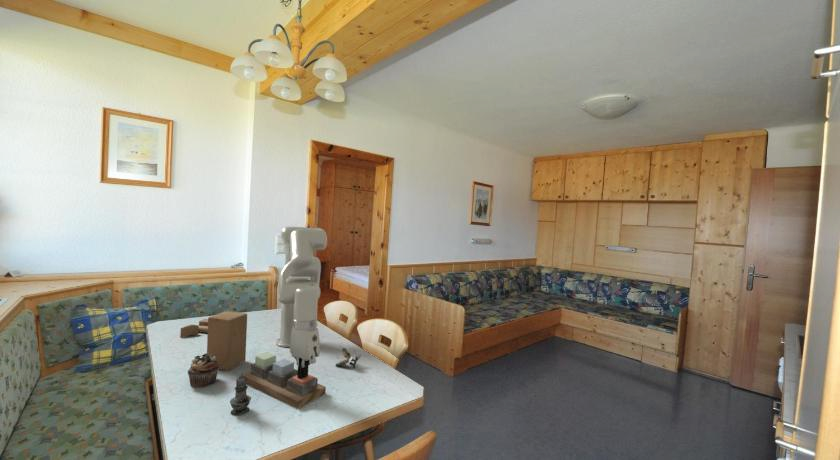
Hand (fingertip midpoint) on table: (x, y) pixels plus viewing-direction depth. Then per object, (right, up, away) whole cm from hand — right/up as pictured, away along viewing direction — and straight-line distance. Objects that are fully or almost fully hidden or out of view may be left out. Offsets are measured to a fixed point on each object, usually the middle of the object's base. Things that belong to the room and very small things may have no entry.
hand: (302, 376), depth 118 cm
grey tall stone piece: (-16, -7, -10) cm, 20 cm away
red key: (0, -4, 0) cm, 4 cm away
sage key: (-17, -1, +10) cm, 20 cm away
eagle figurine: (+9, -7, +27) cm, 29 cm away
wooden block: (-38, -4, +21) cm, 44 cm away
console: (-9, -6, +5) cm, 12 cm away
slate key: (-9, -1, +5) cm, 10 cm away
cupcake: (-38, -5, +6) cm, 38 cm away
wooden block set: (-65, -2, +55) cm, 85 cm away
